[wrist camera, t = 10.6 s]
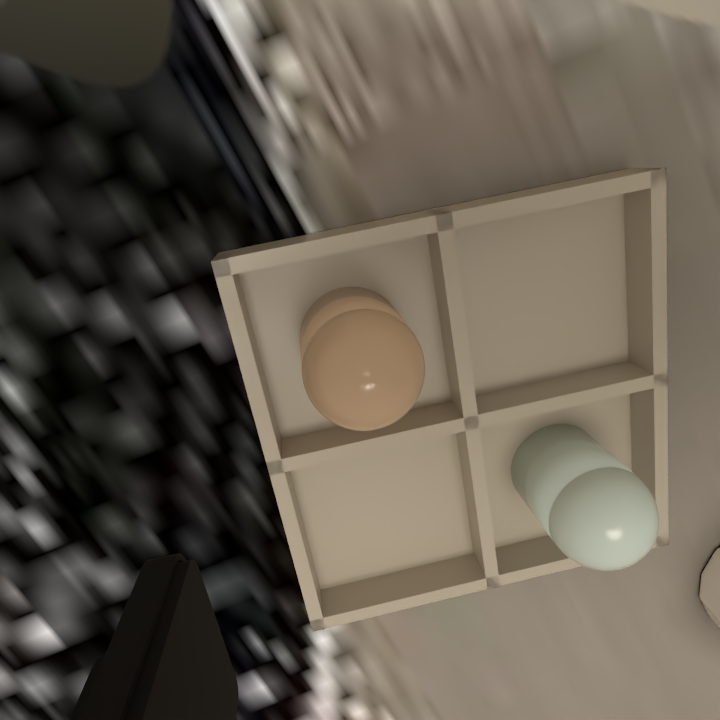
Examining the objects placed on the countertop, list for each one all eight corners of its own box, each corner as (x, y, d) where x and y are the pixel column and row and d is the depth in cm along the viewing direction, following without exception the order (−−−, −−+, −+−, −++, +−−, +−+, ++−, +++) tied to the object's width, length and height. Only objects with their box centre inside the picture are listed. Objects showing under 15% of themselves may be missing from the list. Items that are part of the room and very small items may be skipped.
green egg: (595, 414, 26) (684, 484, 20) (599, 493, 27) (684, 580, 21) (506, 435, 25) (570, 511, 20) (515, 513, 27) (577, 606, 21)
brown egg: (392, 276, 22) (427, 311, 17) (409, 373, 24) (447, 436, 18) (289, 298, 22) (288, 341, 17) (311, 395, 24) (318, 465, 18)
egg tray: (628, 168, 23) (666, 167, 21) (638, 515, 28) (668, 544, 26) (218, 252, 22) (210, 261, 20) (310, 594, 27) (312, 631, 25)
